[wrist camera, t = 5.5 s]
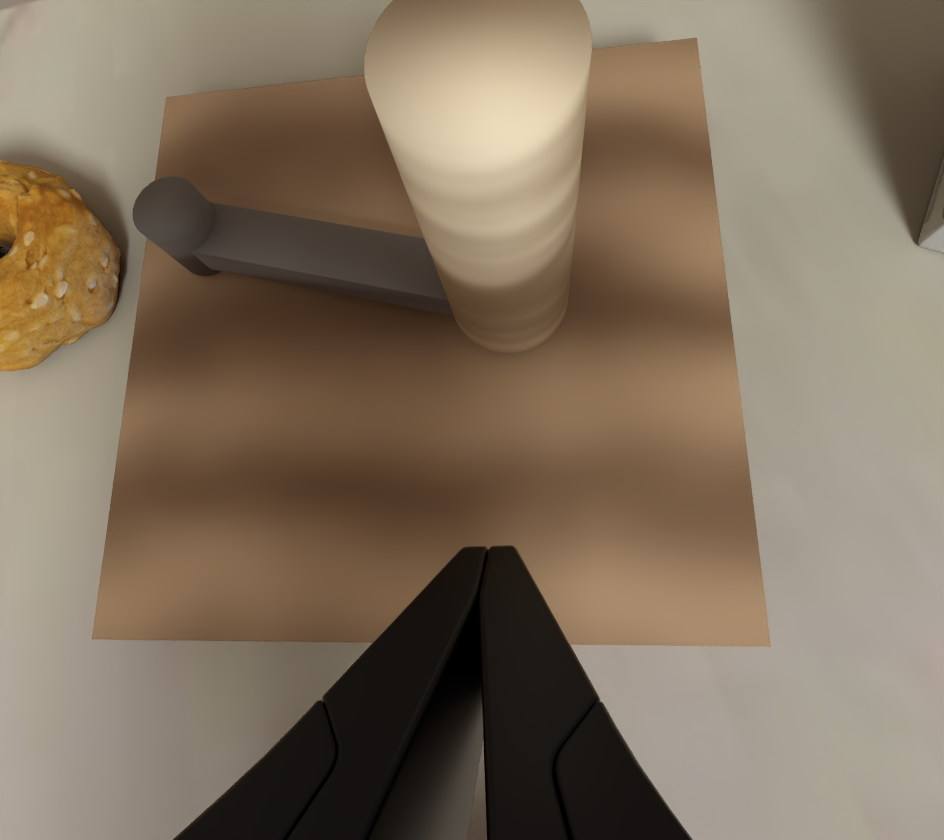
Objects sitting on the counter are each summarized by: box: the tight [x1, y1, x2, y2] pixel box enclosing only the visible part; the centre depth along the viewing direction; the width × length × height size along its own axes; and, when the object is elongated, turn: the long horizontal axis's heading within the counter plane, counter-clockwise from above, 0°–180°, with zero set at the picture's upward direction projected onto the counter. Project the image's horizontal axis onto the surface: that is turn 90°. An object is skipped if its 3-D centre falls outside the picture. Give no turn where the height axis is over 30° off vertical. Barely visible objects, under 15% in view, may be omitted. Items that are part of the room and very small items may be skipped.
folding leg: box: [133, 0, 592, 354], centre depth 16 cm, size 4×15×10 cm, turn 75°
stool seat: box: [92, 38, 771, 647], centre depth 22 cm, size 22×22×3 cm
